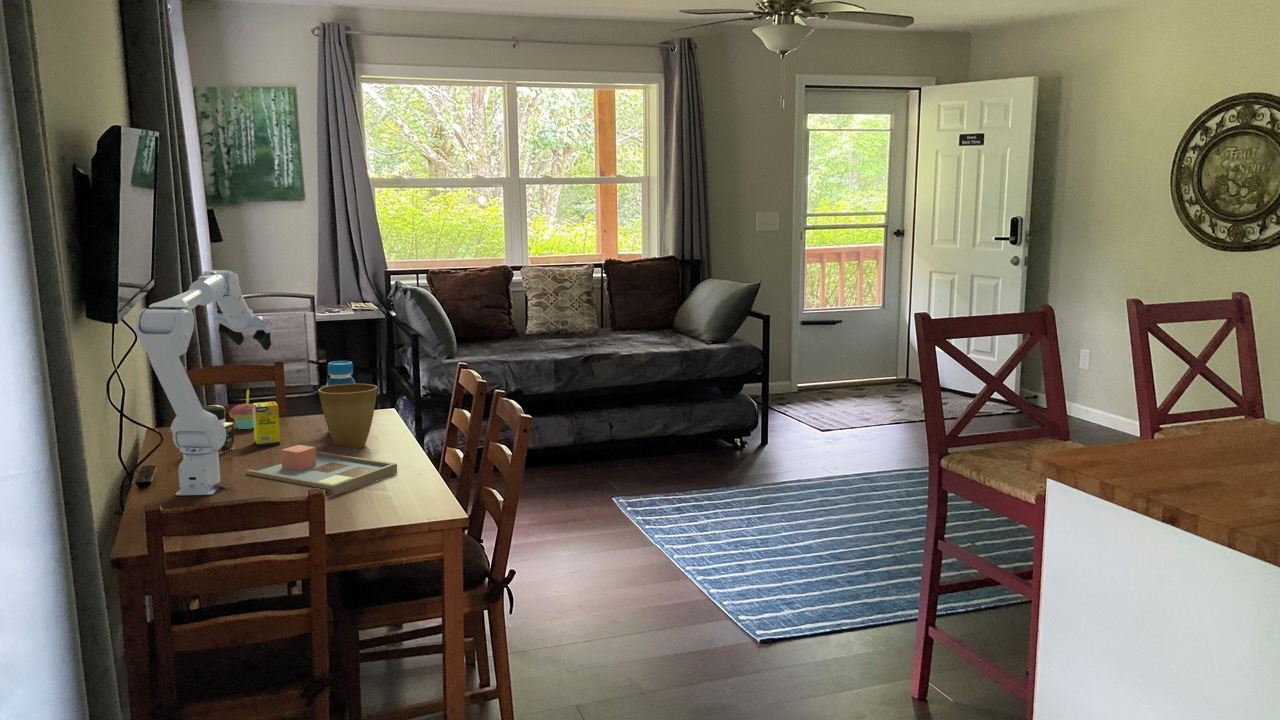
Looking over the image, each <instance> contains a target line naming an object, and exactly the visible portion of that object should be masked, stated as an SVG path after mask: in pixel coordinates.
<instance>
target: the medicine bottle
mask: <svg viewBox="0 0 1280 720" xmlns="http://www.w3.org/2000/svg"><path fill="white" fill-rule="evenodd" d="M202 408H203V409H204V410H206V411H208V412H210V413H212V414H214V415H216V416H217V418H218V420H219V421H220V422H222V423H223V425H224V427H225V429H226V440H225V443H224V445H223V446H222V447H221V449H219V450H218V455H219V454H220V455H222V454H224V453H223V452H225V453H227V452H229V451H228V450H230V451H231V449H232V450H234V449H235V448H236V447H235V433H234V423H233V422H227V421H226V410H225V407H224V406H222V405H218V404H213V405H210V404H209V405H205V406H202ZM226 451H227V452H226ZM221 453H222V454H221ZM220 455H219V456H220Z"/></svg>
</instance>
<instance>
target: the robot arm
mask: <svg viewBox="0 0 1280 720" xmlns="http://www.w3.org/2000/svg"><path fill="white" fill-rule="evenodd" d="M215 301H216V303H217V305H218V306H219V308H220V311H221V312H222V313H216V314H215V315H214V317H213V321H214V324H215V325H220V326H219V328H218V333H220V334H223V335H224V336H226V337H228V338H229V339H230V340H231V341H232V342H233V343H235V344H236V345H237V346H241V345H242V344H243V342H244V340H245V338H244V335H243V333H244V332H253V331H254V332H255V333H254V334H253V335H252V338H253V339H254V340H256V341H257V342H258V343H259V344H260V346H261V348H262V349H263V350H264V351H269V349H270V348H271V346H272V342H271V331H272V330H273V326H272V325H273V324H272V322H271V321H265V320H264V319H262V318H260V317H258V316H257V315H256V314H254V310H253V309H251V308H249V306H248V305H247V304H248V303H246V300H245V299H244V296H243V295H242V288H241V286H240V280H239V276H238V273H235V272H233V270H228V269H227V270H225V269H224V270H223V269H222V270H218V269H217V270H216V269H214V270H213V269H212V270H211V269H210V270H209V269H208V270H204V271H203V273H202V275H200V276H198V277H197V280H195V281H194V282H192V283H191V284H190V285H189V287H188V290H186V291H185V292H182V293H180V294H177V295H175V296H172V297H169V298H167V299H164V300H160V301H158V302H154V303H151V304H149V306H148V308H142V309H141V310H140V311H139V312H138V315H137V317H136V321H135V330H134V332H135V335H136V336H137V338H138V340H139V343H140V344H141V346H142V349H143V351H144V352H145V353H147V356H148V359H149V362H150V365H151V366H152V369H153V371H154V372H155V375H156V377H157V378H158V381H159V383H160V386H161V387H162V389H163V391H164V393H165V395H166V397H167V399H168V401H169V403H170V405H171V407H172V410H173V411H174V413H175V415H176V416H175V417H174V418H173V420H172V423H171V425H170V430H171V433H172V441H173V444H174V445H175V447H176V448H178V449H179V453H183V454H182V455H183V458H182V460H181V462H179V465H178V482H179V483H178V484H179V490H178V491H177V492H176V493H175V496H204V495H205V496H212V495H214V494H215V493H216V492H218V491H219V490H220V489H221V488H222V486H220V485H217V484H219V483H220V482H221V474H220V473H221V472H220V471H221V470H220V455H218V450H219V449H221V447H222V446H223V445H224V443H225V440H226V429H225V427H224V425H223V423H222V422H220V421H219V420H218V418H217V416H216V415H214V414H212V413H210V412H208V411H206V410H204V409H203V408H202V407H203V406H202V403H201V402H200V400H199V397H198V395H197V393H196V391H195V389H194V386H193V385H192V382H191V380H190V378H189V376H188V374H187V372H186V369H185V367H184V365H183V363H182V361H181V359H180V356H182V355H184V354H185V353H187V351H188V348H189V346H190V342H191V338H192V336H193V332H194V329H195V316H194V312H193V309H195V308H196V307H197V306H198V305H199V306H207V305H210V304H211V303H213V302H215Z"/></svg>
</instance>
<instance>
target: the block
mask: <svg viewBox="0 0 1280 720" xmlns="http://www.w3.org/2000/svg"><path fill="white" fill-rule="evenodd" d="M316 451H317V449H316V447H315V446H308V445H304V444H303V445H302V444H297V445H294V446H290V447H286V448H283V449H280V452H281V453H280V454H281V455H280V457H281V464H282V468H285V469H291V470H296V471H301V470H304V469H307V468H310V467H313V466H316Z"/></svg>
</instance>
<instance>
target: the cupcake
mask: <svg viewBox="0 0 1280 720" xmlns="http://www.w3.org/2000/svg"><path fill="white" fill-rule="evenodd" d="M245 400H246V402H245V403H239V404H236V405H235V406H233V407H232V408H231V409H230V410H229V412H228V415H229V417H230V418H231V419H233V420H234V423H235V425H236V427H237V429H238V430H240V429H249V430H252V428H254V424H253V409H252V404H253V403H249V402H250V390H249V387H248V388H247V390H246V397H245Z"/></svg>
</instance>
